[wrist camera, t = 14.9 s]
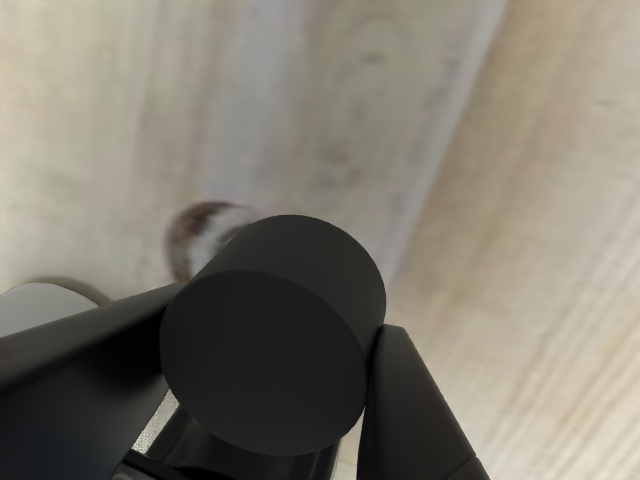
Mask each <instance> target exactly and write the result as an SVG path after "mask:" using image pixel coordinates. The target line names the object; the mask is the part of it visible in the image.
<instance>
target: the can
mask: <svg viewBox="0 0 640 480" xmlns="http://www.w3.org/2000/svg"><path fill="white" fill-rule="evenodd" d="M97 307H100V306H99V305H97V304H96V303H94V302H93V301H91V300H90V299H89V298H87V297H86V296H83V295H80V294H78V293H77V292H74V291H71V290H69V289H66V288H63V287H60V286H58V285H55V284H50V283H35V282H30V283H27V284H23V285H20V286H17V287H14V288H11V289H10V290H8V291H6V292H5V293H3V294H1V295H0V337H4V336H7V335H10V334H13V333H16V332H20V331H23V330H26V329H29V328H32V327H36V326H39V325H42V324H45V323H48V322H52V321H55V320H58V319H61V318H65V317H68V316H71V315H74V314H77V313H81V312H84V311H87V310H90V309H93V308H97Z"/></svg>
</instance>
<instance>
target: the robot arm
mask: <svg viewBox="0 0 640 480" xmlns="http://www.w3.org/2000/svg"><path fill="white" fill-rule="evenodd" d="M185 285H186V284H181V283H174V284H170V285H167V286H164V287H161V288H157V289H154V290H151V291H148V292H145V293H141V294H138V295H135V296H132V297H129V298H125V299H122V300H119V301H116V302H113V303H109V304H106V305H103V306H100V307H97V308H93V309H90V310H87V311H84V312H81V313H77V314H74V315H71V316H68V317H65V318H61V319H58V320H55V321H52V322H48V323H45V324H42V325H39V326H36V327H32V328H29V329H26V330H23V331H20V332H16V333H13V334H10V335H7V336H4V337H0V480H333V479H334V475H335V471H336V467H337V463H338V457H339V452H340V447H341V441H342V438H341V439H339V440H338V441H337V442H335V443H333V444H332V445H330V446H328V447H326V448H324V449H321V450H318V451H316V452H312V453H308V454H303V455H295V456H276V455H266V454H261V453H256V452H253V451H249V450H246V449H243V448H240V447H238V446H235V445H233V444H231V443H229V442H227V441H225V440H223V439H221V438H219V437H217V436H216V435H214V434H213V433H211V432H210V431H208V430H207V429H206V428H204V427H203V426H202V425H200V424H199V423H198V422H197V421H196V420H195V419H194V418H193V417H192V416H191V415H189V414H188V413H187V411H186V410H185V409H184V408H183V407H182V406H181V404H180V405H179V406H178V408H177V409H176V411H175V412H174V413H173V415H172V416H171V418H170V419H169V420H168V422H167V423H166V425H165V426H164V427H163V429H162V430H161V432H160V433H159V434H158V436H157V437H156V439H155V440H154V442H153V443H152V444H151V446H150V447H149V449H148V450H147V451H146V453H145V454H142V453H140V452H138V451H136V450H134V449H132V448H131V447H132V446H133V444H134V443H135V441H136V440H137V438H138V437H139V436H140V434H141V433H142V431H143V430H144V428H145V427H146V425H147V424H148V422H149V421H150V419H151V418H152V416H153V415H154V413H155V412H156V410H157V409H158V407H159V405H160V404H161V402H162V401H163V399H164V397H165V395H166V393H167V392H168V390H169V386H168V384H167V382H166V379H165V377H164V374H163V372H162V369H161V360H160V344H159V328H160V323H161V320H162V317H163V314H164V312H165V310H166V308H167V307H168V305H169V303H170V302H171V300H172V299H173V298H174V297H175V295H176V294H177V293H178V292H179V291H180V290H181V289H182V288H183V287H184V286H185ZM356 480H490V478H489V476H488V474H487V473H486V471H485V469H484V467H483V466H482V464H481V462H480V460H479V459H478V458H477V457H476V454H475V452H474V450H473V448H472V446H471V445H470V443H469V441H468V439H467V438H466V436H465V434H464V432H463V431H462V429H461V427H460V425H459V424H458V422H457V420H456V418H455V417H454V415H453V413H452V411H451V409H450V408H449V406H448V404H447V402H446V401H445V399H444V397H443V395H442V394H441V392H440V390H439V388H438V387H437V385H436V383H435V381H434V380H433V378H432V376H431V374H430V372H429V371H428V369H427V367H426V365H425V364H424V362H423V360H422V358H421V357H420V355H419V353H418V351H417V350H416V348H415V346H414V344H413V342H412V341H411V339H410V337H409V335H408V334H407V332H406V330H405V329H404V328H403V327H398V326H393V325H388V324H383V325H381V327H380V330H379V334H378V338H377V342H376V346H375V350H374V354H373V359H372V366H371V372H370V379H369V385H368V391H367V398H366V404H365V411H364V417H363V424H362V430H361V437H360V443H359V450H358V461H357V477H356Z"/></svg>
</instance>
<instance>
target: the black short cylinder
mask: <svg viewBox="0 0 640 480" xmlns="http://www.w3.org/2000/svg"><path fill="white" fill-rule="evenodd" d="M385 313H386V293H385V288H384V283H383V280H382V277H381V275H380V272H379V270H378V268H377V266H376V264H375V262H374V261H373V259H372V258H371V257H370V255H369V254H368V252H367V251H366V250H365V249H364V248H363V247H362V246H361V245H360V244H359V243H358V242H357V241H356V240H355V239H354V238H353V237H351V236H350V235H349V234H347V233H346V232H344V231H343V230H341V229H340V228H338V227H336V226H334V225H332V224H330V223H328V222H325V221H322V220H320V219H317V218H312V217H308V216H301V215H278V216H272V217H268V218H265V219H262V220H259V221H257V222H255V223H253V224H250V225H249V226H247V227H246V228H244V229H243V230H242V231H240V232H239V233H238V234H237V235H236V236H235V237H234V238H233V239H232V240H231V241H230V242H229V243H228V244H227V245H226V246H225V247H224V248H223V249H222V250H221V251H220V252H219V253H218V254H217V255H216V256H215V257H214V258H213V259H212V260H211V261H210V262H209V263H208V264H207V265H206V266H205V267H204V268H203V269H201V270H200V271H199V272H198V273H197V274H196V275H195V276H194V277H193V278H192V279H191V280H190V281H189V282H188V283H187V284H186V285H185V286H184V287H183V288H182V289H181V290H180V291H179V292H178V293H177V294H176V295H175V297H174V298H173V299H172V300H171V302H170V303H169V305H168V307H167V308H166V310H165V312H164V314H163V317H162V320H161V323H160V328H159V344H160V360H161V369H162V372H163V374H164V377H165V379H166V382H167V384H168V386H169V388H170V389H171V391H172V393H173V394H174V396H175V397H176V399H177V400H178V402H179V403H180V404H181V406H182V407H183V408H184V409H185V410H186V411H187V413H188V414H189V415H191V416H192V417H193V418H194V419H195V420H196V421H197V422H198V423H199V424H200V425H202V426H203V427H204V428H206V429H207V430H208V431H210V432H211V433H213V434H214V435H216V436H217V437H219V438H221V439H223V440H225V441H227V442H229V443H231V444H233V445H235V446H238V447H240V448H243V449H246V450H249V451H253V452H256V453H261V454H266V455H276V456H295V455H303V454H308V453H312V452H316V451H318V450H321V449H324V448H326V447H328V446H330V445H332V444H333V443H335V442H337V441H338V440H339V439H341V438H342V437H343V436H345V435H346V434H347V433H348V432H349V431H350V430H351V428H352V427H353V426H354V425H355V424H356V422H357V421H358V419H359V418H360V416H361V414H362V412H363V410H364V407H365V404H366V398H367V391H368V385H369V379H370V372H371V366H372V359H373V354H374V350H375V346H376V342H377V338H378V334H379V330H380V327H381V325H383V323H384V318H385Z"/></svg>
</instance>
